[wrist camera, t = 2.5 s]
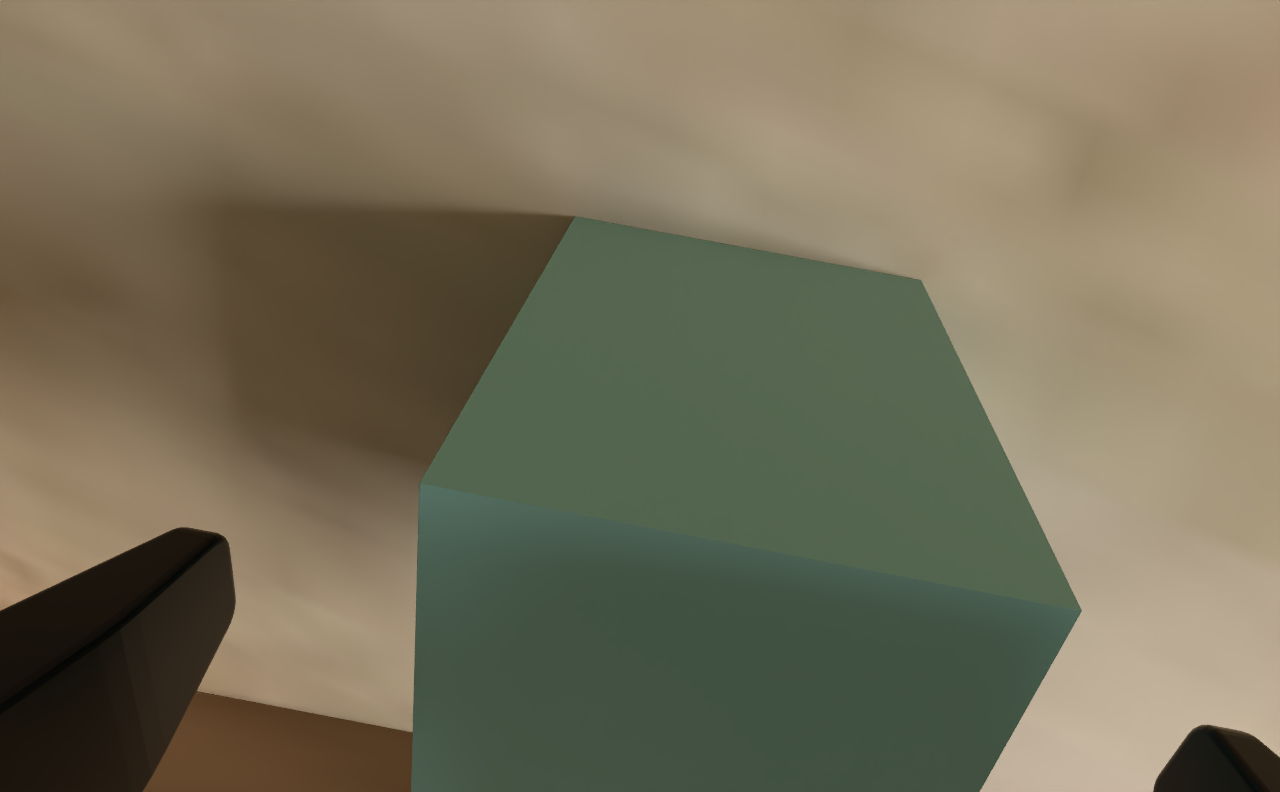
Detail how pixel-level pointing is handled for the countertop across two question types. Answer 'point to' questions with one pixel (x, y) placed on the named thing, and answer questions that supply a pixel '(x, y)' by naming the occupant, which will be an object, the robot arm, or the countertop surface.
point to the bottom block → (279, 752)
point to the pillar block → (724, 539)
